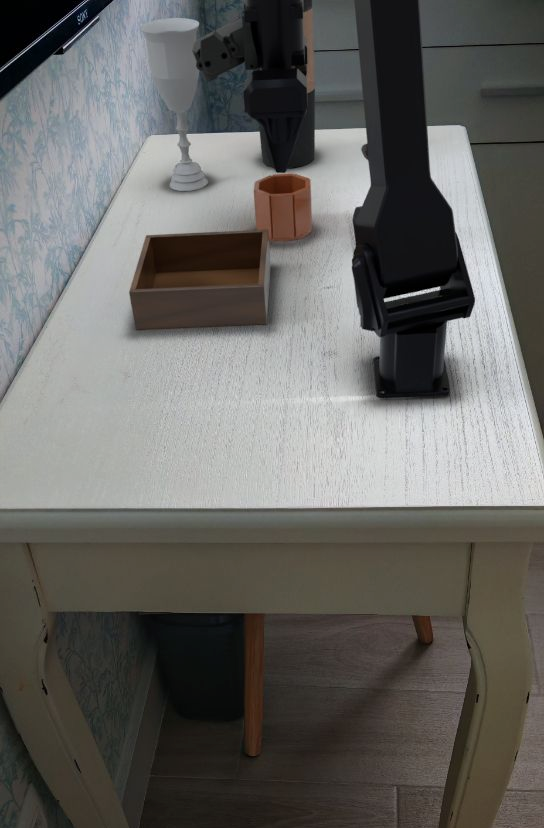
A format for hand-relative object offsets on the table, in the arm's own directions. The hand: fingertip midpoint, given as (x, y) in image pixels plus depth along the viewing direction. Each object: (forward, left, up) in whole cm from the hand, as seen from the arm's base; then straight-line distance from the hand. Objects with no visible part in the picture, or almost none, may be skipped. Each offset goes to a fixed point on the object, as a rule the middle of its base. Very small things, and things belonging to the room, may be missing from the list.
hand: (281, 156), depth 101 cm
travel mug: (+24, 0, -9) cm, 26 cm away
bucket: (0, 0, -9) cm, 9 cm away
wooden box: (-16, +8, -9) cm, 20 cm away
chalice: (+17, +13, -9) cm, 23 cm away
